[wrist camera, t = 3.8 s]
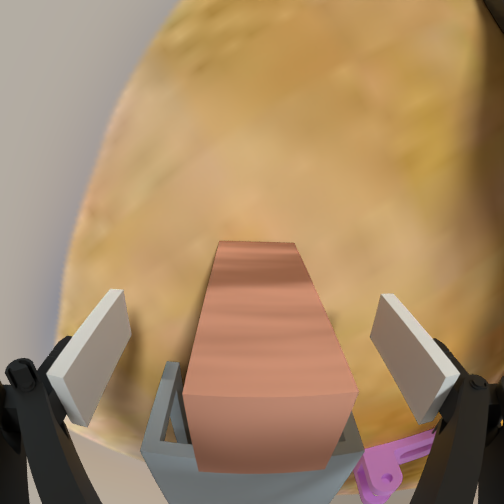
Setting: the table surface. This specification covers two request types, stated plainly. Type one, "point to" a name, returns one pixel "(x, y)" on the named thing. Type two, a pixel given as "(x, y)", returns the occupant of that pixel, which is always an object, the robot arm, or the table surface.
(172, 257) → the table surface
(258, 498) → the box
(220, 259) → the reddish brown block
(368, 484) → the bracket
